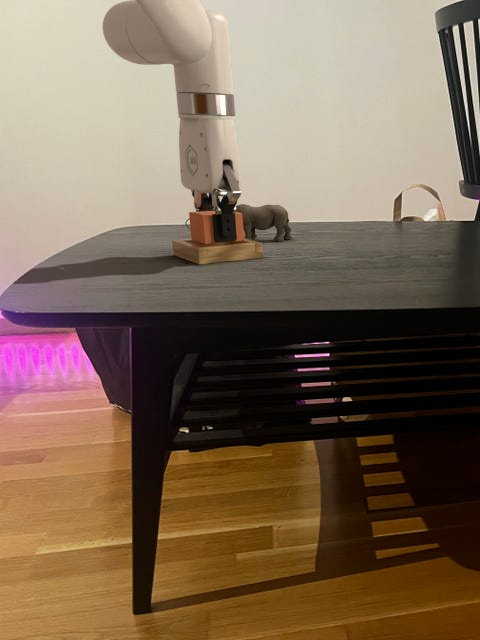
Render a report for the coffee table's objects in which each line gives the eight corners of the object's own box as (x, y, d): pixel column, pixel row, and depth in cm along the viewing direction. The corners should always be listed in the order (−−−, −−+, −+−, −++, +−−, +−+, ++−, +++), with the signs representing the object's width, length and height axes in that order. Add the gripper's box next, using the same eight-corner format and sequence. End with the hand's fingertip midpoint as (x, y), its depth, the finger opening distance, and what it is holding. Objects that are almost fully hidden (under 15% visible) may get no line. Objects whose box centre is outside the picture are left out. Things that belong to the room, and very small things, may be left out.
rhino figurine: (208, 238, 119) (205, 202, 117) (291, 237, 123) (290, 203, 121) (206, 242, 115) (203, 205, 113) (292, 241, 119) (291, 205, 117)
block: (205, 244, 100) (202, 215, 99) (191, 239, 103) (188, 212, 102) (244, 240, 104) (242, 213, 103) (229, 236, 107) (227, 209, 106)
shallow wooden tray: (199, 264, 98) (198, 249, 97) (173, 255, 104) (171, 240, 103) (263, 257, 105) (262, 242, 104) (235, 249, 111) (234, 235, 110)
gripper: (155, 106, 101) (168, 233, 107) (207, 108, 90) (219, 249, 96) (205, 108, 106) (215, 229, 112) (261, 110, 95) (269, 244, 101)
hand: (217, 237), depth 104 cm, fingers closed on block, 4 cm apart
